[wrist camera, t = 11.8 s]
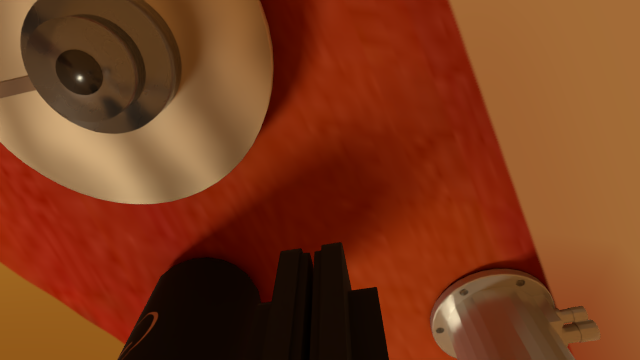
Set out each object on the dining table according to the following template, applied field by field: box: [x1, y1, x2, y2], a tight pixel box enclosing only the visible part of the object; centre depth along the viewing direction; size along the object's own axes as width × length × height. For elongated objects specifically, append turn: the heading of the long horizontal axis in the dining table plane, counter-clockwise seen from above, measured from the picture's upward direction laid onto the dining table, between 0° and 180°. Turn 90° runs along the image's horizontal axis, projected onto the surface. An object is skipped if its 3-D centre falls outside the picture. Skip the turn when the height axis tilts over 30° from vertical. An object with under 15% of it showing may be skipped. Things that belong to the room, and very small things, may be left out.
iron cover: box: [20, 0, 182, 134], centre depth 25 cm, size 9×9×5 cm
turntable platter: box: [0, 0, 274, 204], centre depth 28 cm, size 22×22×2 cm
